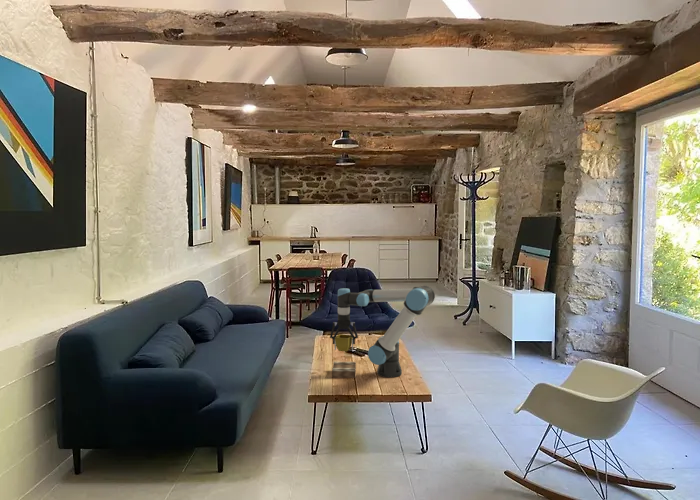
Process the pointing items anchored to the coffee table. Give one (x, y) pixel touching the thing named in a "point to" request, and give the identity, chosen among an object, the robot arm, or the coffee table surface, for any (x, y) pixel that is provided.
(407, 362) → the coffee table surface
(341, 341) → the flower pot
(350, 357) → the coffee table surface
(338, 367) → the display stand
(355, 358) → the coffee table surface
